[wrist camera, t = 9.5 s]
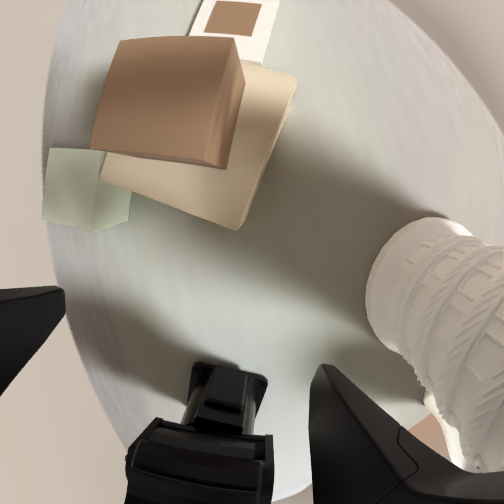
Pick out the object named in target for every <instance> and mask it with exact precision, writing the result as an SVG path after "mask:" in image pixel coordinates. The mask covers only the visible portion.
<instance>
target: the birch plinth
mask: <svg viewBox="0 0 504 504" xmlns="http://www.w3.org/2000/svg"><path fill="white" fill-rule="evenodd" d="M240 63H241V66H242V70H243V74H244V78H245V82H246V83H245V87H244V92H243V96H242V100H241V105H240V109H239V113H238V118H237V122H236V127H235V132H234V136H233V141H232V146H231V150H230V155H229V160H228V165H227V170H223V169H217V168H211V167H204V166H198V165H191V164H184V163H177V162H169V161H161V160H152V159H143V158H137V157H132V156H127V155H121V154H116V153H110V152H107V154H106V157H105V161H104V164H103V167H102V170H101V174H100V177H99V179H101V180H103V181H106V182H109V183H111V184H114V185H117V186H119V187H122V188H125V189H127V190H130V191H133V192H135V193H138V194H140V195H143V196H146V197H148V198H151V199H154V200H156V201H159V202H161V203H164V204H167V205H169V206H172V207H174V208H177V209H180V210H182V211H185V212H187V213H190V214H192V215H195V216H198V217H200V218H203V219H205V220H208V221H210V222H213V223H215V224H218V225H221V226H223V227H226V228H228V229H231V230H233V231H237V230H238V229H239V228H240V226H241V225H242V224H243V223H244V222H245V220H246V217H247V215H248V212H249V210H250V207H251V204H252V202H253V199H254V197H255V194H256V192H257V189H258V187H259V184H260V182H261V179H262V177H263V174H264V172H265V169H266V167H267V164H268V162H269V159H270V157H271V154H272V152H273V149H274V147H275V145H276V142H277V140H278V137H279V135H280V132H281V130H282V127H283V125H284V123H285V120H286V118H287V115H288V113H289V110H290V108H291V106H292V103H293V99H294V94H295V90H296V86H297V81H298V79H297V78H294V77H292V76H289V75H286V74H283V73H280V72H277V71H274V70H271V69H268V68H264V67H261V66H258V65H254V64H251V63H247V62H244V61H240Z"/></svg>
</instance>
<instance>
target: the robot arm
mask: <svg viewBox="0 0 504 504" xmlns="http://www.w3.org/2000/svg"><path fill="white" fill-rule="evenodd" d="M65 312H66V306H65V292H64V290H63V289H62V288H60V287H57V286H41V287H27V288H12V289H0V396H1V395H2V394H3V392H4V391H5V390H6V388H7V387H8V386H9V384H10V383H11V382H12V381H13V379H14V378H15V377H16V376H17V374H18V373H19V372H20V371H21V369H22V368H23V367H24V366H25V365H26V363H27V362H28V361H29V360H30V359H31V358H32V356H33V355H34V354H35V353H36V352H37V351H38V349H39V348H40V347H41V346H42V345H43V344H44V342H45V341H46V340H47V338H48V337H49V335H50V334H51V333H52V331H53V330H54V329H55V327H56V326H57V324H58V323H59V322H60V321H61V319H62V318H63V317H64V315H65ZM197 367H200V368H201V369H198V368H197ZM260 382H264V383H263V384H261V383H260ZM267 386H268V380H267V379H266V378H264V377H260V376H255V375H251V374H246V373H241V372H237V371H233V370H229V369H225V368H220V367H217V366H213V365H209V364H205V363H201V362H195V363H194V365H193V367H192V372H191V379H190V386H189V393H188V401H187V408H186V410H185V413H184V415H183V418H182V420H181V423H180V424H179V423H174V422H169V421H165V420H163V419H162V418H158V417H156V418H155V419H154V420H153V421H152V422H151V423H150V424H149V425H148V427H147V428H146V429H145V430H144V431H143V432H142V433H141V434H140V436H139V437H138V438H137V439H136V440H135V441H134V442H133V443H132V445H131V446H130V447H129V448H128V454H127V455H126V456H125V461H126V466H125V469H126V471H125V472H126V477H127V480H128V486H127V493H126V498H125V503H124V504H271V500H272V494H273V485H274V450H273V435H265V436H263V435H253V431H254V421H255V418H256V415H257V412H258V410H259V407H260V405H261V402H262V399H263V397H264V394H265V391H266V388H267ZM308 428H309V443H310V455H311V469H312V485H313V501H314V502H313V503H314V504H504V471H498V472H488V473H472V472H468V471H465V470H463V469H461V468H459V467H458V466H456V465H455V464H453V463H452V462H450V461H448V460H447V459H445V458H444V457H442V456H441V455H439V454H438V453H436V452H435V451H434V450H432V449H431V448H429V447H428V446H426V445H425V444H424V443H422V442H421V441H420V440H418V439H417V438H416V437H415V436H413V435H412V434H411V433H410V432H408V431H407V430H406V429H405V428H404V427H403V426H400V424H399V423H398V422H397V421H396V420H394V419H393V418H392V417H391V416H390V415H389V414H387V413H386V412H385V411H384V410H383V409H382V408H381V407H379V406H378V405H377V404H376V403H375V402H374V401H373V400H371V399H370V398H369V397H368V396H367V395H366V394H365V393H363V392H362V391H361V390H360V389H359V388H358V387H357V386H356V385H354V384H353V383H352V382H351V381H350V380H349V379H348V378H347V377H346V376H344V375H343V374H342V373H341V372H340V371H339V370H338V369H337V368H336V367H335V366H333V365H329V364H321V365H320V366H319V367H318V369H317V371H316V374H315V376H314V378H313V380H312V383H311V386H310V399H309V427H308Z"/></svg>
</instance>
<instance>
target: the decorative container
mask: <svg viewBox="0 0 504 504" xmlns="http://www.w3.org/2000/svg"><path fill="white" fill-rule="evenodd" d="M365 306H366V312H367V318H368V321H369V323H370V325H371V327H372V329H373V331H374V333H375V334H376V336H377V337H378V339H379V340H380V341H381V342H382V343H383V344H384V345H385V346H386V347H387V348H388V349H390V350H392V351H394V352H396V353H398V354H401V355H403V359H405V360H407V362H408V363H409V364H411V365H412V366H413V367H414V370H415V371H414V372H415V374H416V375H417V377H418V378H417V380H418V381H421V386H424V387H425V388H426V390H427V391H429V392H430V393H431V394H432V395H434V398H435V402H436V407H437V408H438V409H439V415H441V414H442V419H445V421H446V423H447V424H449V425H450V426H451V427H452V428H455V429H457V430H458V432H459V442H460V447H461V449H462V450H463V451H462V455H463V456H464V459H466V460H468V461H469V463H470V464H472V465H473V466H475V467H477V466H478V467H479V469H480V470H481V472H482V473H488V472H498V471H504V246H499V245H488V244H486V243H485V242H484V241H482V240H481V239H479V238H476V237H474V236H473V235H472V234H471V233H470V232H469V231H468V230H467V229H466V228H465V227H464V226H462V225H461V224H459V223H456V222H454V221H451V220H449V219H445V218H441V217H425V218H422V219H419V220H416V221H413V222H410V223H409V224H407V225H406V226H404V227H403V228H401V229H400V230H398V231H397V232H395V234H394V235H393V236H392V237H391V238H390V239H389V240H388V241H387V243H386V244H385V245H384V246H383V247H382V249H381V251H380V252H379V254H378V256H377V258H376V259H375V261H374V263H373V265H372V268H371V271H370V274H369V277H368V281H367V284H366V295H365Z"/></svg>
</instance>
